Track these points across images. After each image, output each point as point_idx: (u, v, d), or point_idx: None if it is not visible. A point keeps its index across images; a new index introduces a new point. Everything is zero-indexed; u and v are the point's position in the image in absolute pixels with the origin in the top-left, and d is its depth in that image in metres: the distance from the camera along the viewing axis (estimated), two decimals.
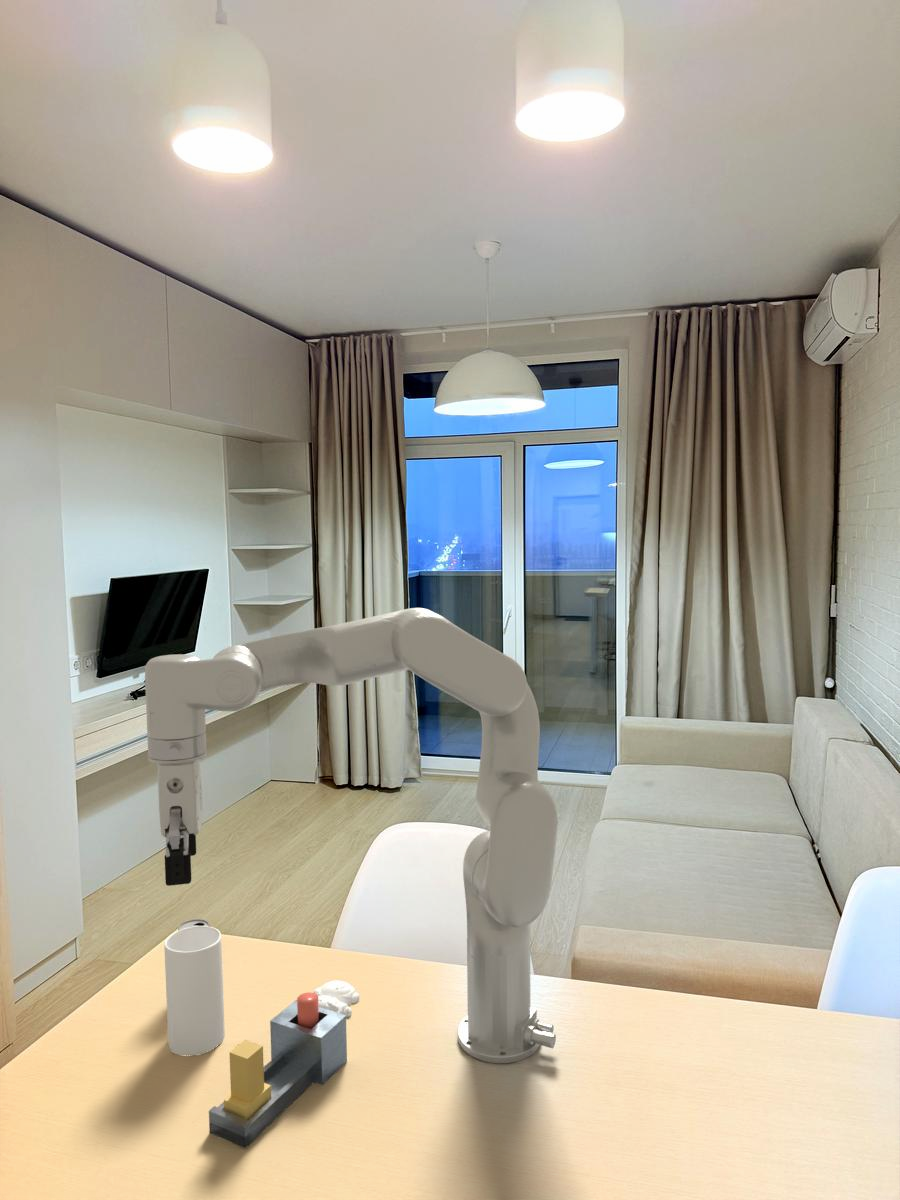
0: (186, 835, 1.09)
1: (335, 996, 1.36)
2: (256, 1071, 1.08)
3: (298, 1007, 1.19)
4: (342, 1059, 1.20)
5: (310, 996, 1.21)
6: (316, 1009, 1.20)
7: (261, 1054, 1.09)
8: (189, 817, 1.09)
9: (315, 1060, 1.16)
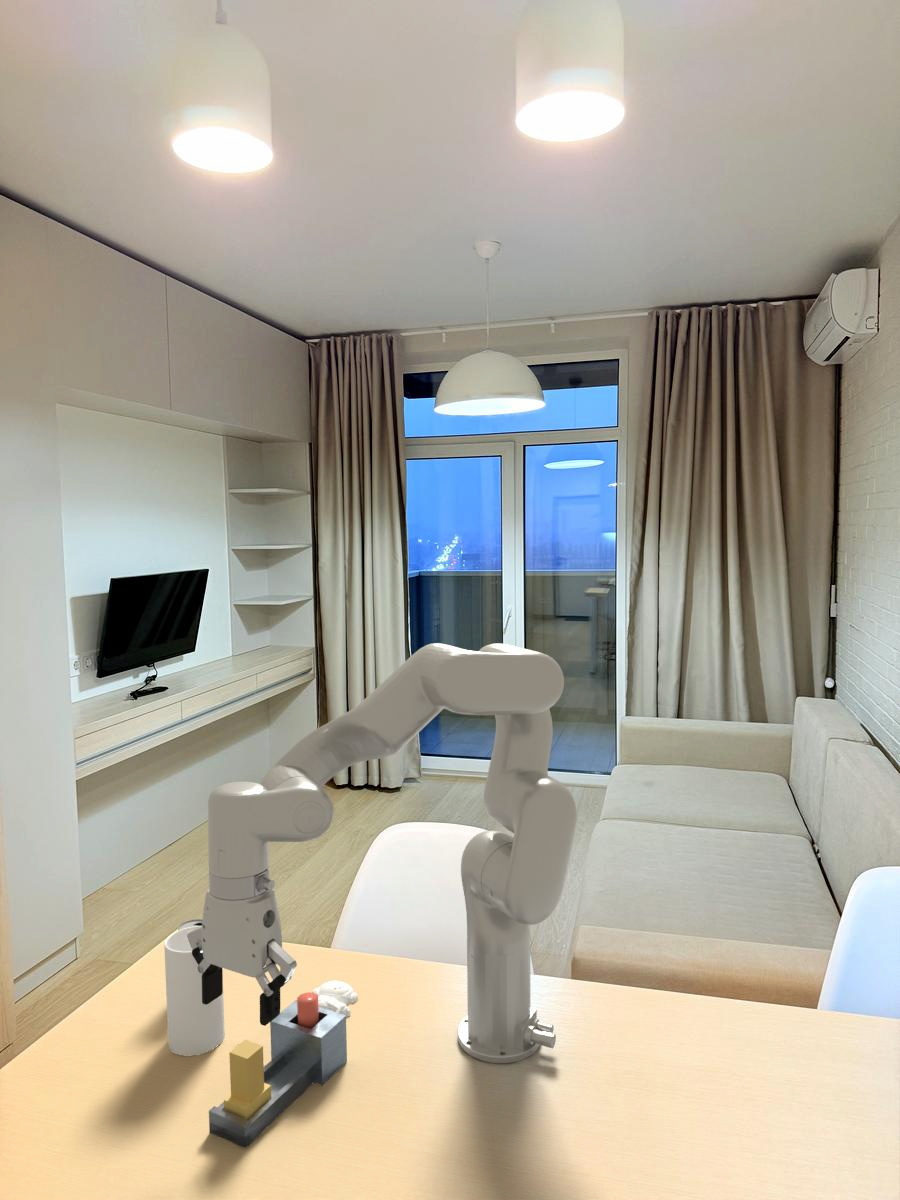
0: (275, 966, 1.06)
1: (334, 996, 1.36)
2: (256, 1071, 1.08)
3: (298, 1007, 1.19)
4: (342, 1059, 1.20)
5: (310, 996, 1.21)
6: (316, 1009, 1.20)
7: (261, 1054, 1.09)
8: (279, 947, 1.06)
9: (315, 1060, 1.16)
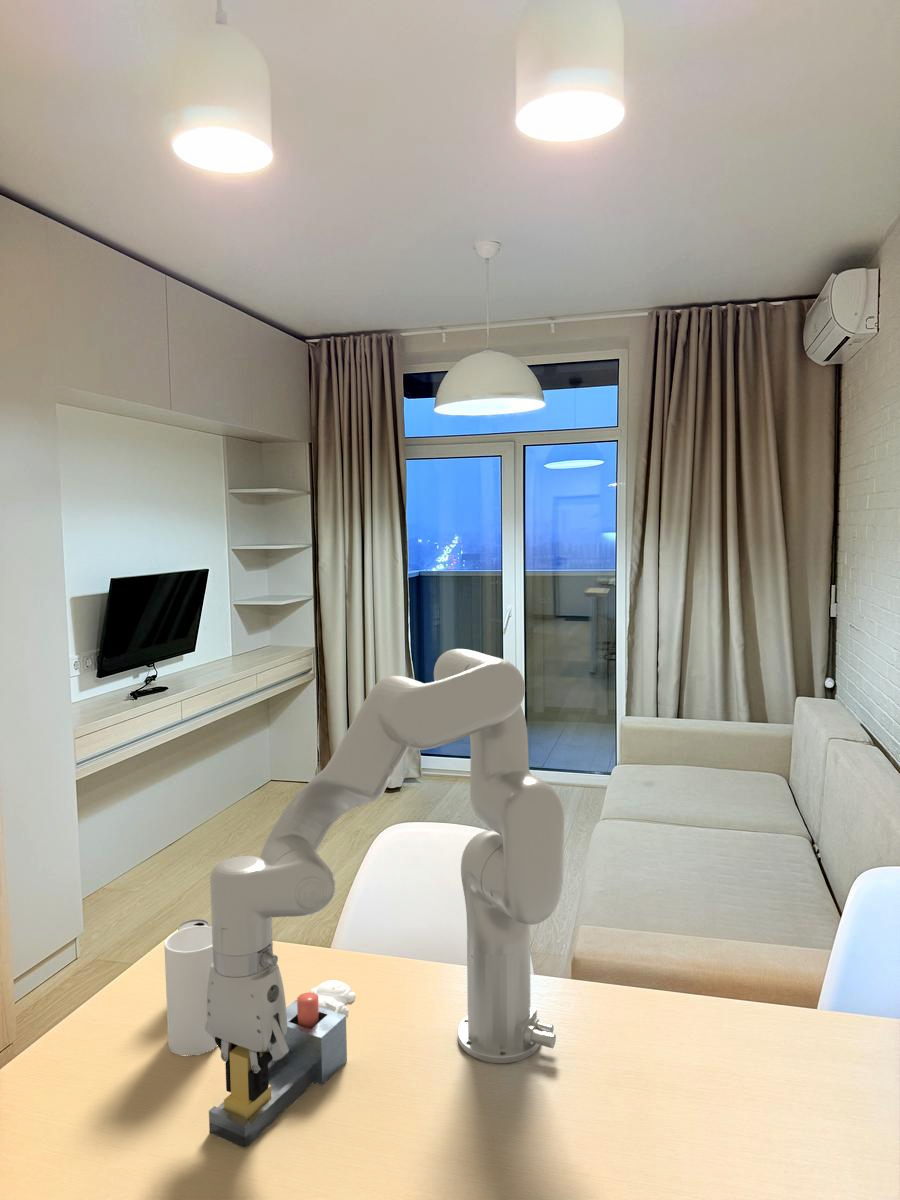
0: (269, 1044, 1.08)
1: (331, 996, 1.36)
2: None
3: (298, 1007, 1.19)
4: (342, 1059, 1.20)
5: (310, 996, 1.21)
6: (316, 1009, 1.20)
7: (261, 1054, 1.09)
8: (284, 1020, 1.07)
9: (315, 1060, 1.16)
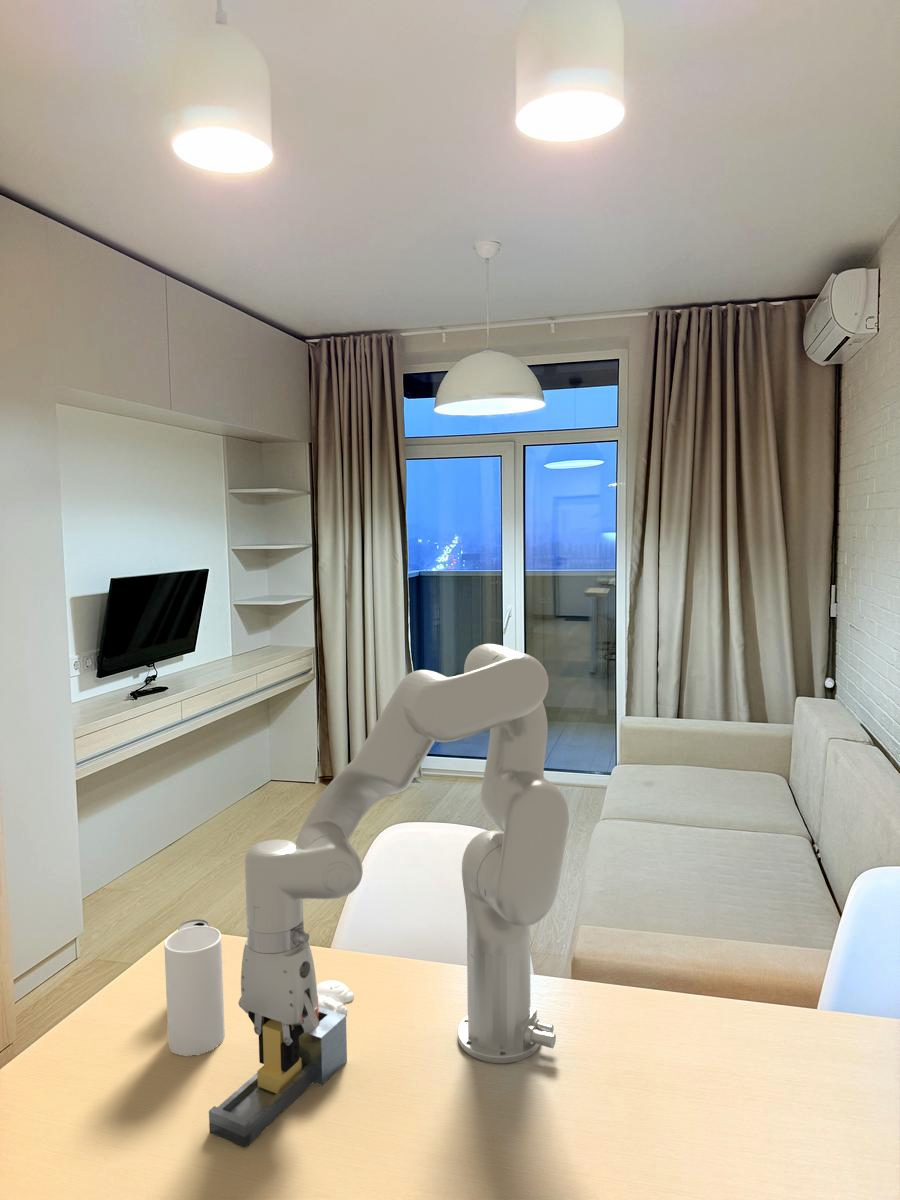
0: (300, 1018, 1.14)
1: (330, 996, 1.36)
2: None
3: None
4: (342, 1059, 1.20)
5: None
6: (316, 1009, 1.20)
7: (292, 1028, 1.15)
8: (314, 995, 1.13)
9: (315, 1060, 1.16)
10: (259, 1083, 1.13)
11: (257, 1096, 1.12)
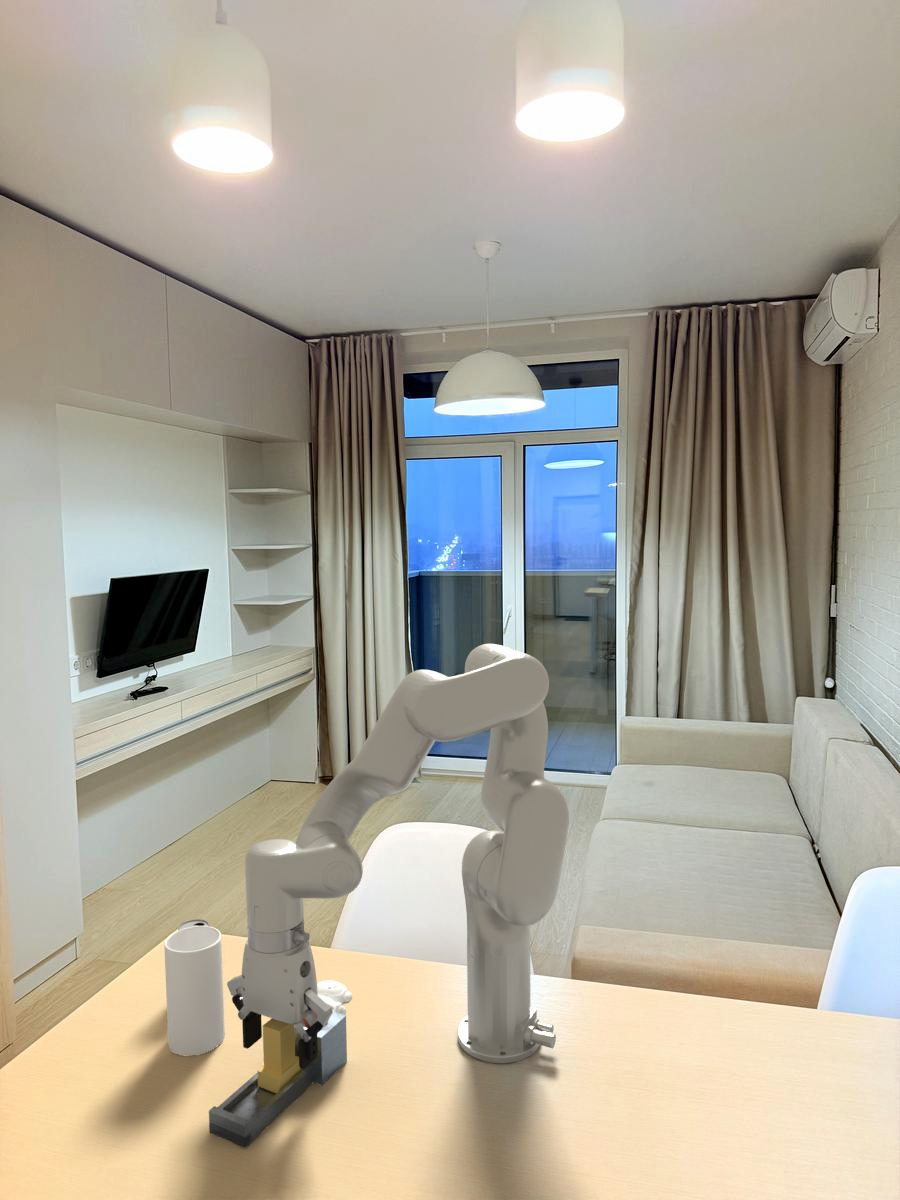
0: (312, 1013, 1.13)
1: (328, 995, 1.36)
2: (288, 1044, 1.14)
3: None
4: (342, 1059, 1.20)
5: None
6: None
7: (292, 1028, 1.15)
8: (315, 994, 1.13)
9: (315, 1060, 1.16)
10: (259, 1083, 1.13)
11: (257, 1096, 1.12)
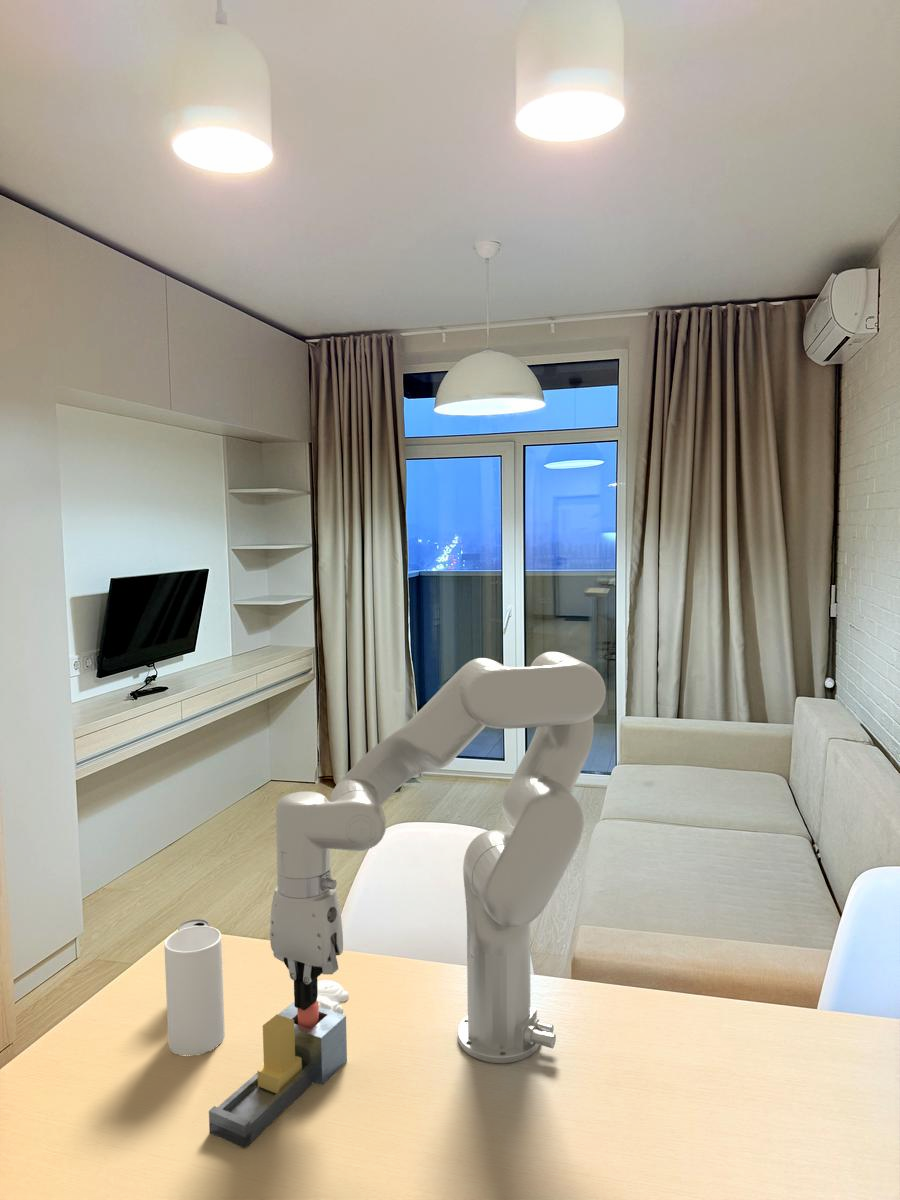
0: None
1: (325, 995, 1.36)
2: (288, 1044, 1.14)
3: (298, 1013, 1.19)
4: (342, 1059, 1.20)
5: None
6: (316, 1015, 1.20)
7: (292, 1028, 1.15)
8: (340, 939, 1.18)
9: (315, 1060, 1.16)
10: (259, 1083, 1.13)
11: (257, 1096, 1.12)
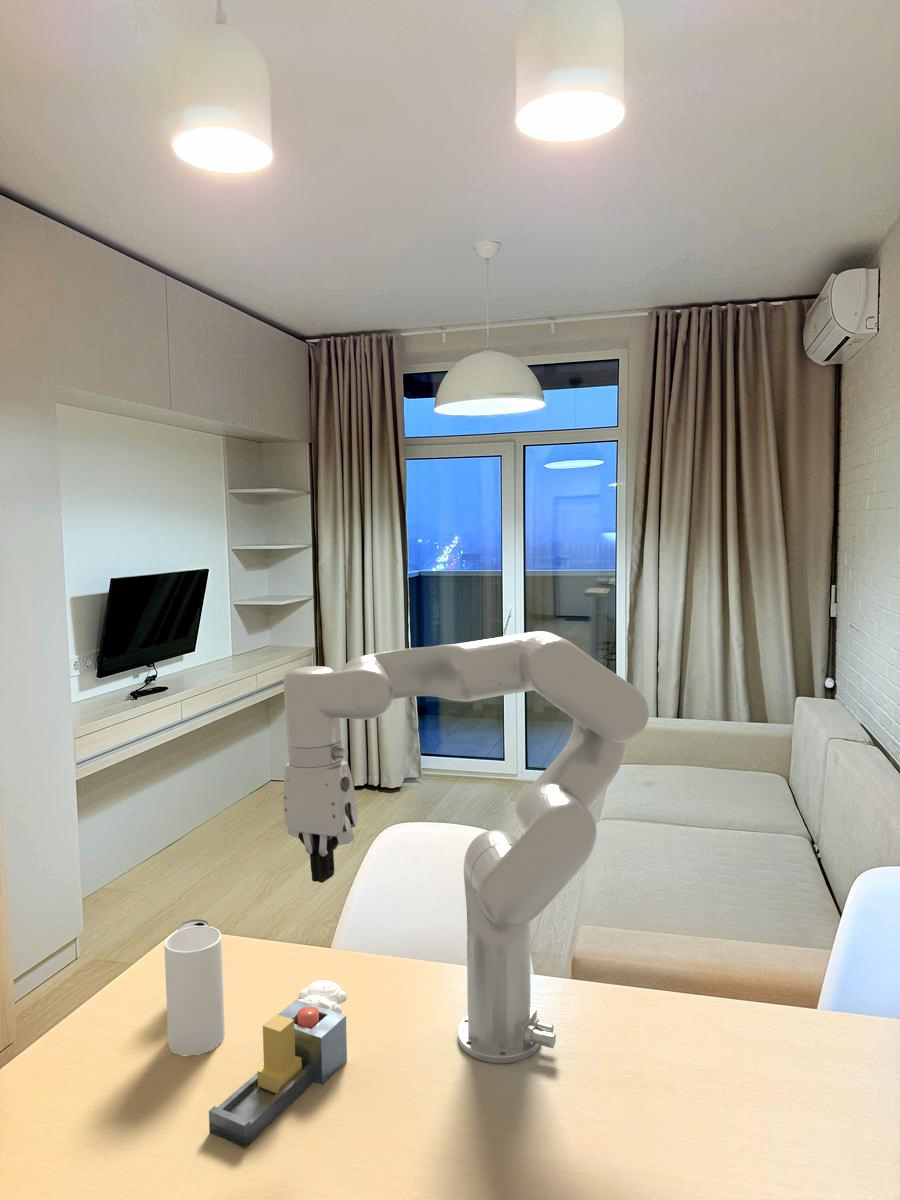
0: None
1: (323, 995, 1.36)
2: (288, 1044, 1.14)
3: (298, 1021, 1.19)
4: (342, 1059, 1.20)
5: (310, 1010, 1.21)
6: (316, 1023, 1.20)
7: (292, 1028, 1.15)
8: (354, 810, 1.18)
9: (315, 1060, 1.16)
10: (259, 1083, 1.13)
11: (257, 1096, 1.12)
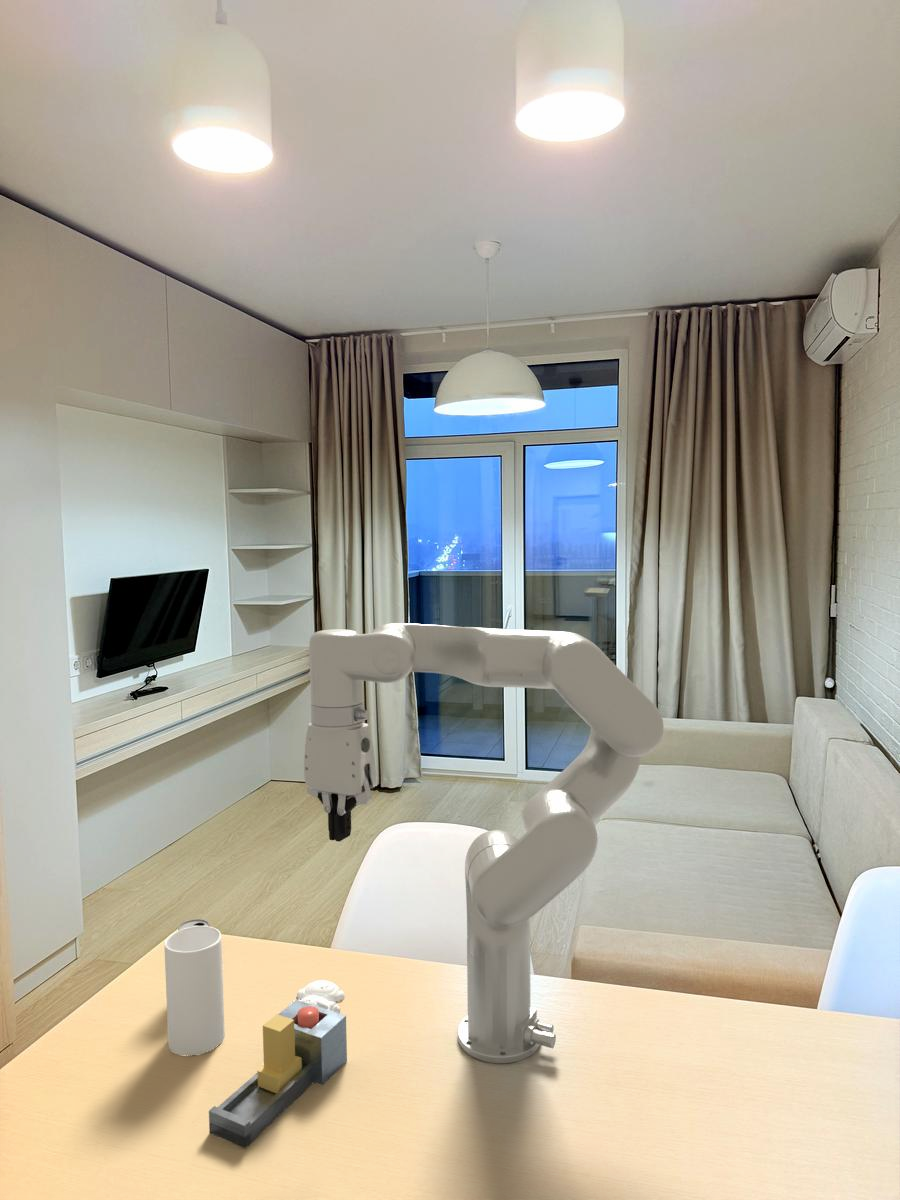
0: None
1: (321, 995, 1.36)
2: (288, 1044, 1.14)
3: (298, 1021, 1.19)
4: (342, 1059, 1.20)
5: (310, 1010, 1.21)
6: (316, 1023, 1.20)
7: (292, 1028, 1.15)
8: (373, 772, 1.21)
9: (315, 1060, 1.16)
10: (259, 1083, 1.13)
11: (257, 1096, 1.12)
